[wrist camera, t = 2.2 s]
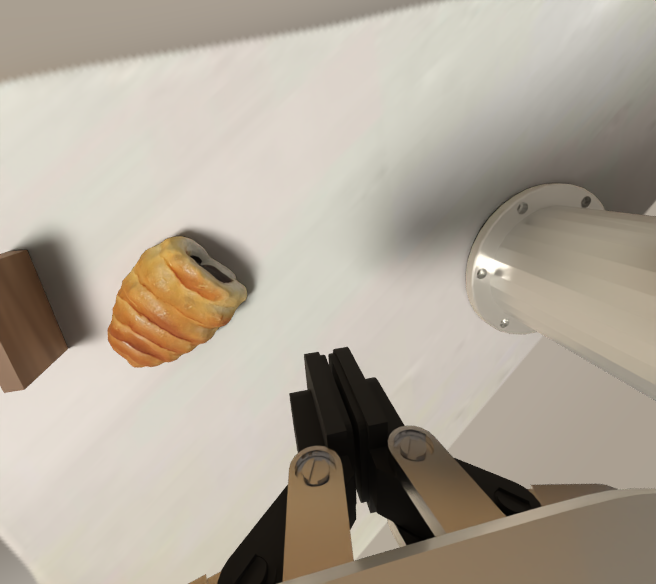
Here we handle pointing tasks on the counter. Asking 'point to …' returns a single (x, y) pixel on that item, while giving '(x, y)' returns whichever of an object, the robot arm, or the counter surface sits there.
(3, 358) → the walnut block
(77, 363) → the counter surface
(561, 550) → the robot arm
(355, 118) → the counter surface
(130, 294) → the pastry
